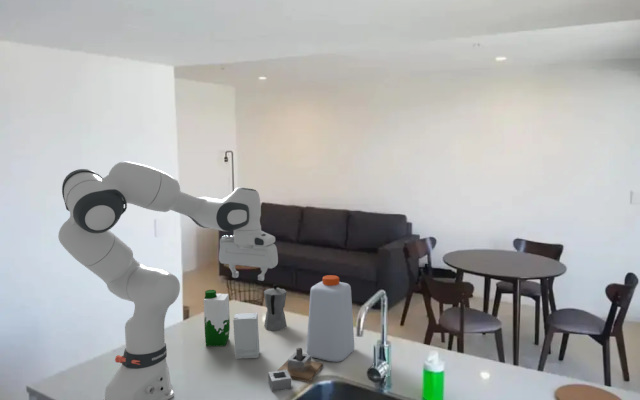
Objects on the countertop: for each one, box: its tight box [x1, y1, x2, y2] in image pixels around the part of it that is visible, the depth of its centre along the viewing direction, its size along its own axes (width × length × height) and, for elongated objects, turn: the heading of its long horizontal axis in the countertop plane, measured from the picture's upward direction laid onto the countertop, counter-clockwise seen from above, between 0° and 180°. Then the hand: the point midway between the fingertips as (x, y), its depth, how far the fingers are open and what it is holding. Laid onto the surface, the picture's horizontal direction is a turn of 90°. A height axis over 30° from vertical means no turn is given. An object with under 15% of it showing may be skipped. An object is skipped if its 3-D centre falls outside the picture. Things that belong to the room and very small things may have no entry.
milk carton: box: [203, 289, 231, 347], centre depth 183 cm, size 9×9×20 cm
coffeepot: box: [263, 284, 287, 332], centre depth 198 cm, size 15×9×18 cm, turn 178°
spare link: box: [267, 370, 292, 393], centre depth 152 cm, size 6×6×4 cm
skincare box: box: [232, 312, 260, 360], centre depth 173 cm, size 8×6×15 cm
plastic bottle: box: [305, 274, 355, 363], centre depth 174 cm, size 15×15×28 cm
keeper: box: [276, 347, 324, 383], centre depth 162 cm, size 12×12×8 cm
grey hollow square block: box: [287, 352, 312, 373], centre depth 162 cm, size 6×6×4 cm
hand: (248, 278), depth 159 cm, fingers open, 8 cm apart
